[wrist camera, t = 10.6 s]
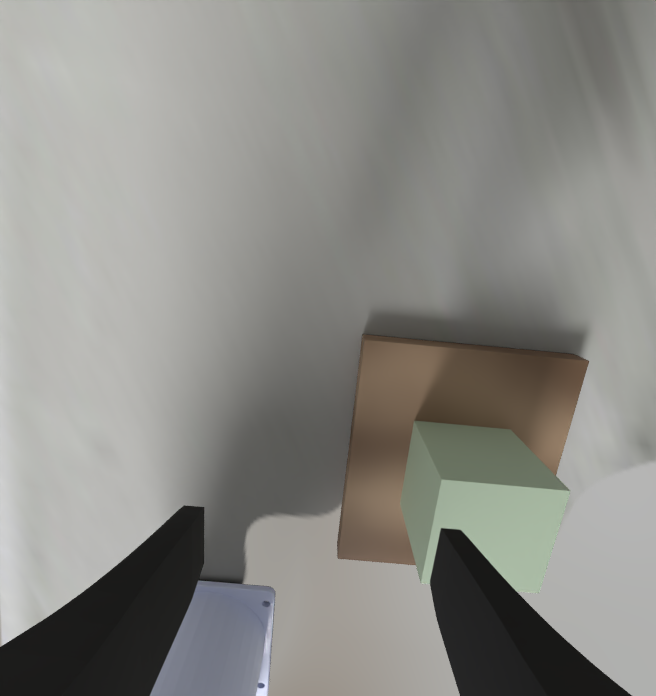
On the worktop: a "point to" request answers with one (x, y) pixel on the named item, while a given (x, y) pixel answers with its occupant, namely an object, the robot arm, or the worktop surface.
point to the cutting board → (441, 407)
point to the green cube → (482, 499)
